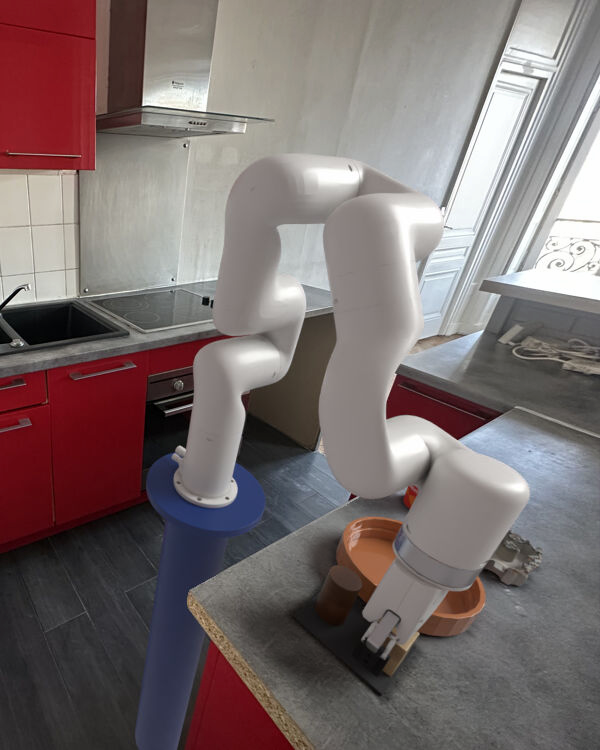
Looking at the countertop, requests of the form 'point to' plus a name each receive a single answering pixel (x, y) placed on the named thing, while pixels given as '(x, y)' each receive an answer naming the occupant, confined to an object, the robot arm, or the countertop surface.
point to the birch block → (397, 652)
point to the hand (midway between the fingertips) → (382, 642)
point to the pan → (375, 555)
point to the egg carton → (514, 559)
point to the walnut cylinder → (338, 595)
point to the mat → (346, 640)
